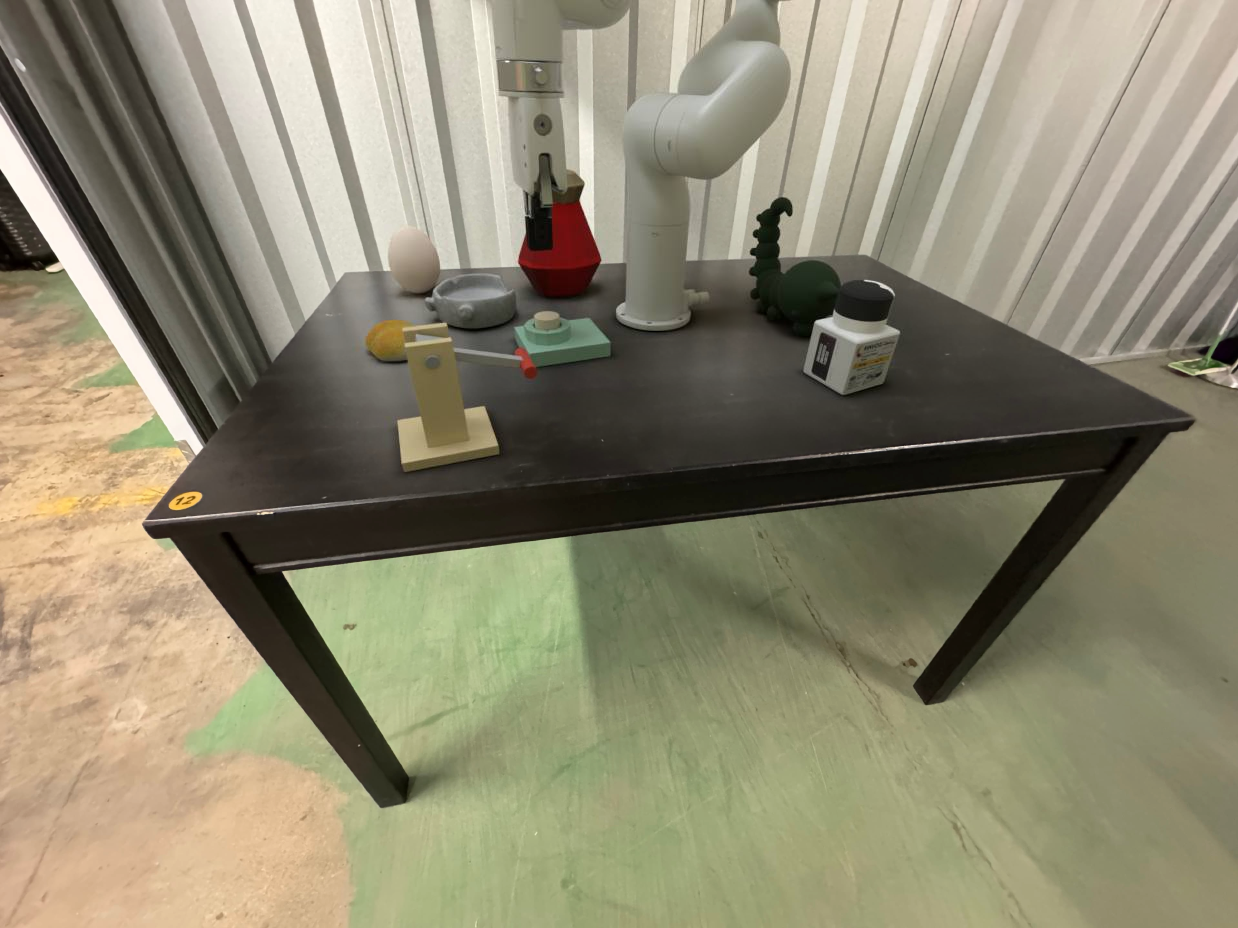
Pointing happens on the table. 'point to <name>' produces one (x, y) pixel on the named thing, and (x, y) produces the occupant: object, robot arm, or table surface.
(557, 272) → the bottle
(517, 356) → the lever
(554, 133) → the robot arm
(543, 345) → the button panel
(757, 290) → the segmented green worm
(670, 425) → the table surface
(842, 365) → the container
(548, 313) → the button
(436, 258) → the egg
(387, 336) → the bread roll
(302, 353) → the table surface
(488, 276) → the dish
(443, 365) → the bracket
